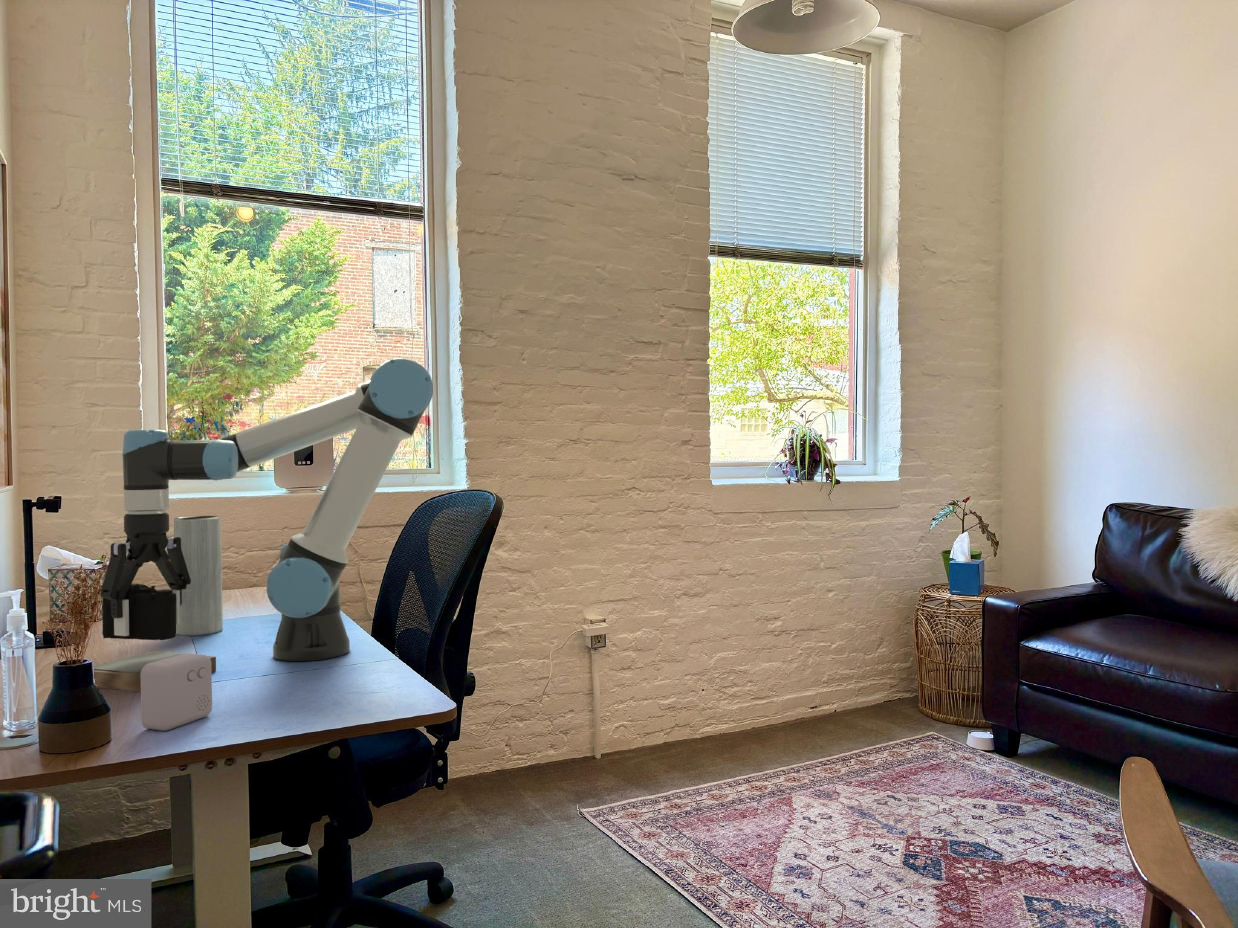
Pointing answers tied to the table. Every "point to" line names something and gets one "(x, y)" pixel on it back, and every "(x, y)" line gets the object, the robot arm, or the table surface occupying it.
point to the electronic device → (175, 691)
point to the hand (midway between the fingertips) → (148, 629)
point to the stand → (131, 670)
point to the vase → (201, 575)
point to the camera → (145, 614)
